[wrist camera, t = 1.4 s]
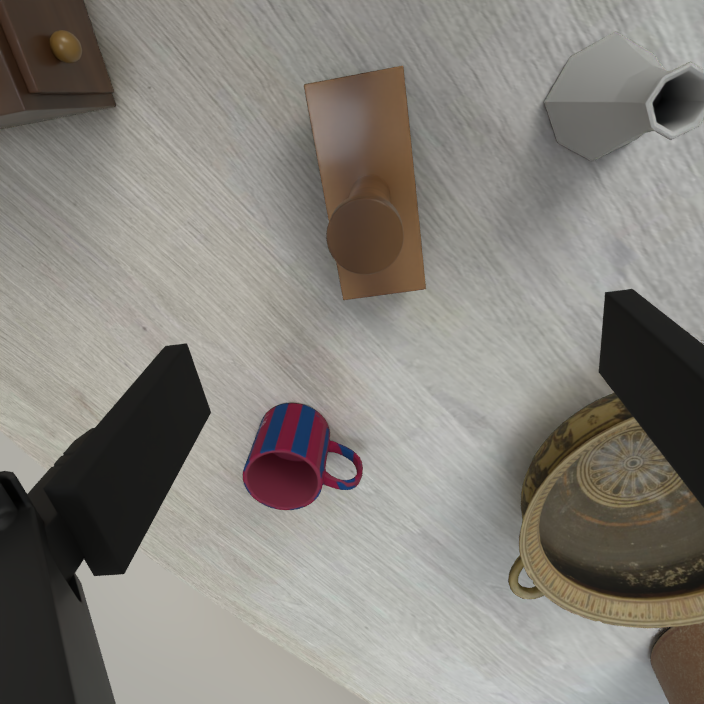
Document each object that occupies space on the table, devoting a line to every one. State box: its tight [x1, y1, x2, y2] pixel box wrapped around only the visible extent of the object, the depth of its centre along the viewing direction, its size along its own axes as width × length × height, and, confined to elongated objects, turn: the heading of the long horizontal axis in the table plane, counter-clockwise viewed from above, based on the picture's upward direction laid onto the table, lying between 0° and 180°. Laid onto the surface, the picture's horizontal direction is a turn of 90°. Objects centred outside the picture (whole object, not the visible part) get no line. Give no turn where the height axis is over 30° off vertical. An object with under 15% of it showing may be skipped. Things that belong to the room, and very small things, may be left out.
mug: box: [243, 403, 363, 510], centre depth 44 cm, size 7×10×7 cm
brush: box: [304, 66, 426, 300], centre depth 30 cm, size 6×14×15 cm, turn 9°
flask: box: [544, 32, 704, 161], centre depth 29 cm, size 7×7×10 cm
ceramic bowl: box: [508, 393, 704, 628], centre depth 42 cm, size 30×24×10 cm
